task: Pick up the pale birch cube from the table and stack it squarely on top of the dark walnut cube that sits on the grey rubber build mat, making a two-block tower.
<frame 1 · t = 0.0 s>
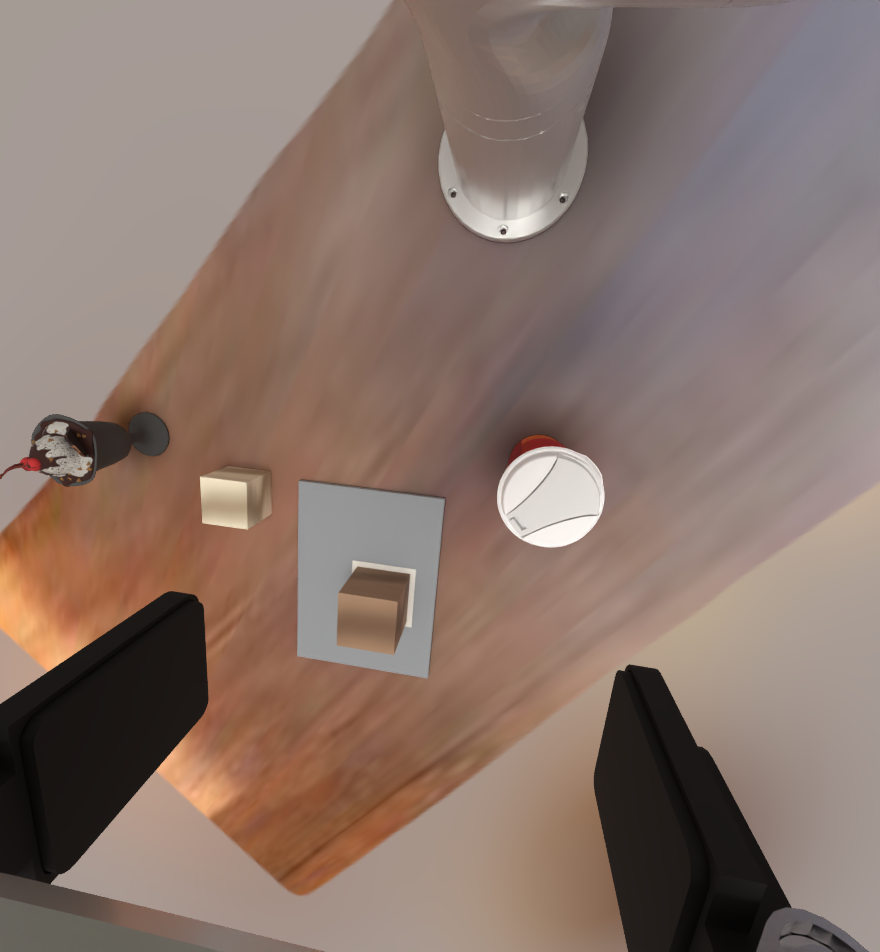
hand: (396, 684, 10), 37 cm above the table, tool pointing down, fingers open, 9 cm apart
sundae: (150, 434, 51), on the table
paper cup: (538, 461, 45), on the table
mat: (367, 580, 51), on the table
birch block: (250, 490, 50), on the table
walnut block: (382, 594, 50), point 1 cm above the table, touching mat
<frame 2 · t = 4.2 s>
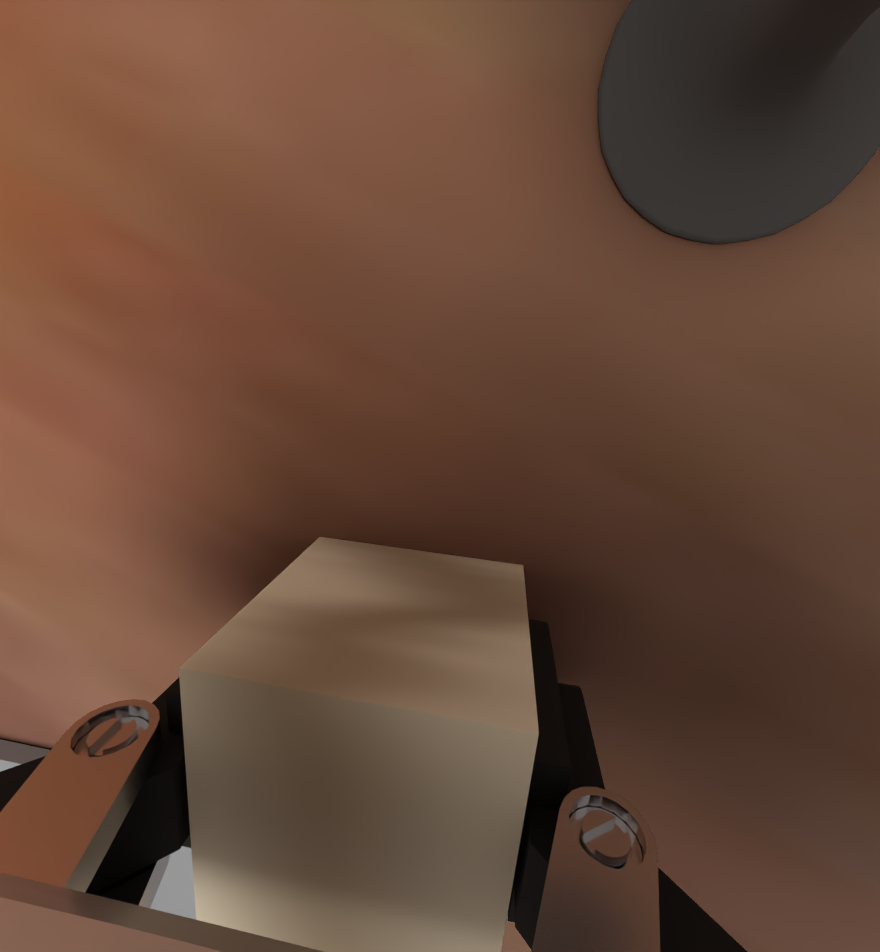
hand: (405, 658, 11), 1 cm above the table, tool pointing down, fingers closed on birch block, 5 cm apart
sundae: (734, 95, 8), on the table
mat: (135, 943, 16), on the table
birch block: (411, 640, 11), on the table, touching gripper
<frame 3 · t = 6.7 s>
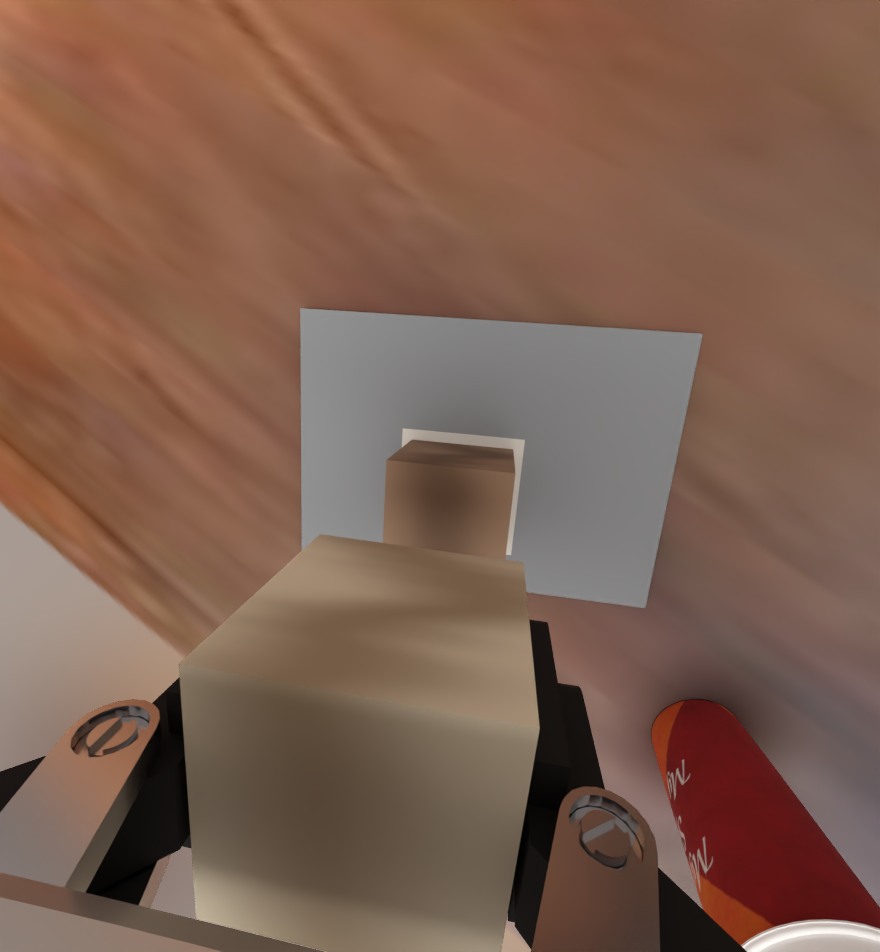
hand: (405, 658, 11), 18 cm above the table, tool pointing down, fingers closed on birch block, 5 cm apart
paper cup: (694, 733, 30), on the table
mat: (478, 460, 27), on the table
birch block: (411, 638, 11), point 17 cm above the table, touching gripper
walnut block: (457, 493, 27), point 1 cm above the table, touching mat
when the fingers open (8 cm above the table, at t = 9.3 s): birch block stays where it is, resting on walnut block.
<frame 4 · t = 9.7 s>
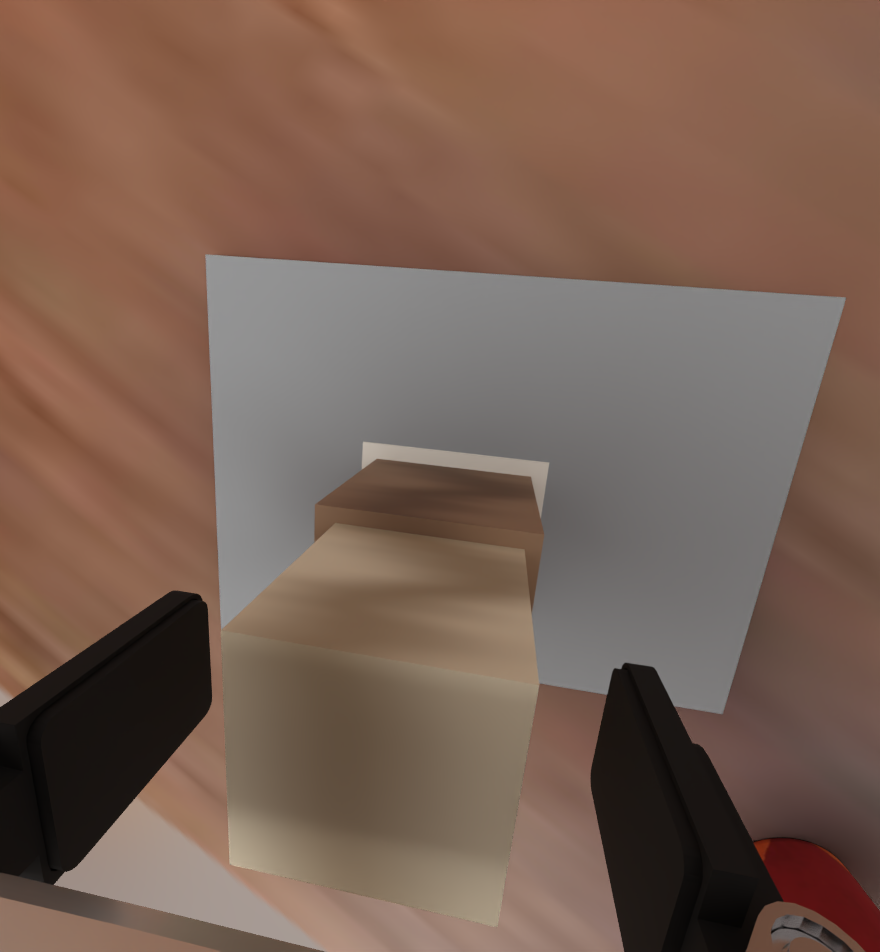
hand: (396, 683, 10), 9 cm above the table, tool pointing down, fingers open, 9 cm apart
paper cup: (780, 881, 21), on the table
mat: (476, 490, 18), on the table
birch block: (420, 620, 12), point 7 cm above the table, touching walnut block
walnut block: (445, 539, 18), point 1 cm above the table, touching birch block, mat
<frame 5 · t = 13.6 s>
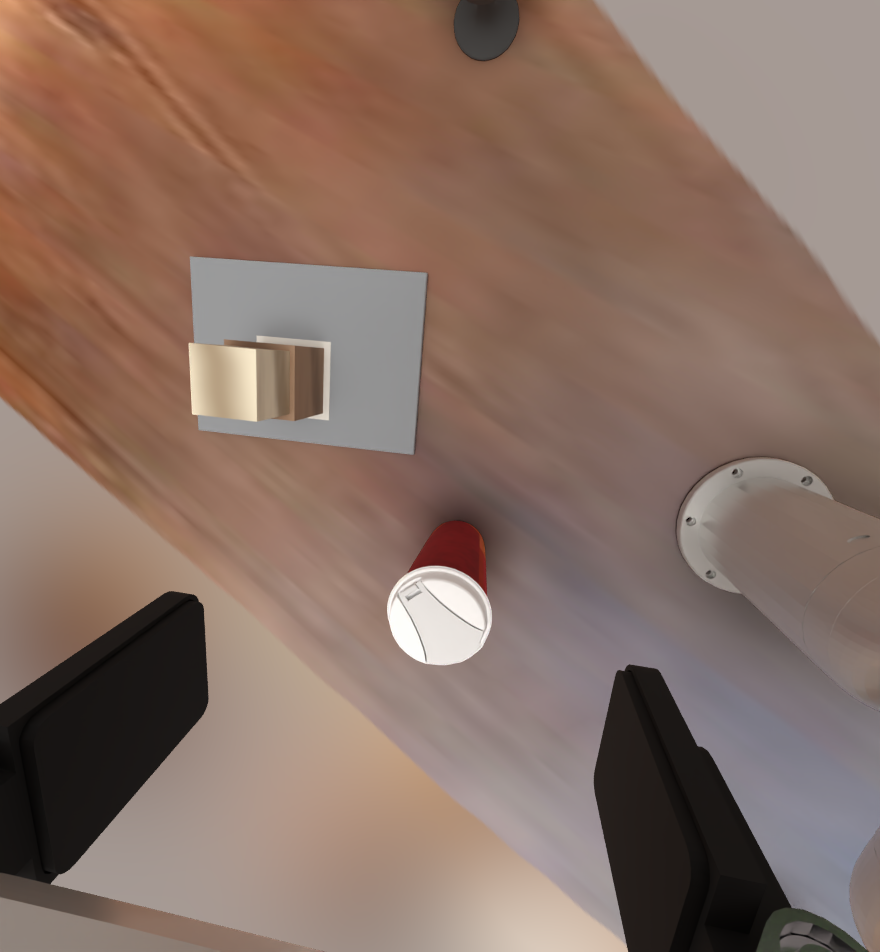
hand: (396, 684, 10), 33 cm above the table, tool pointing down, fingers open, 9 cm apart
sundae: (485, 24, 34), on the table
paper cup: (457, 546, 45), on the table
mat: (306, 357, 42), on the table
birch block: (260, 380, 36), point 7 cm above the table, touching walnut block
walnut block: (293, 378, 42), point 1 cm above the table, touching birch block, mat
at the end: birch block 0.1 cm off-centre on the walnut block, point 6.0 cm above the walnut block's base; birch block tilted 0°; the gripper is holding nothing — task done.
